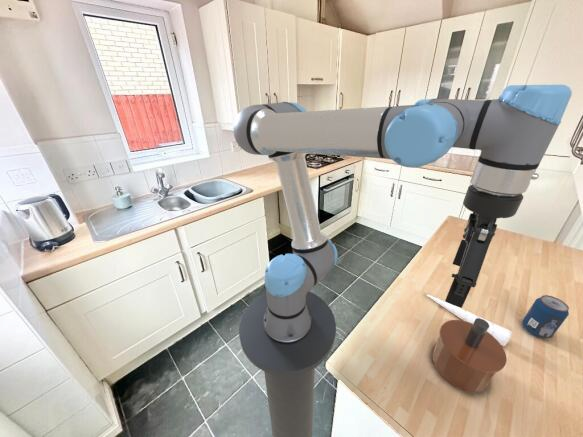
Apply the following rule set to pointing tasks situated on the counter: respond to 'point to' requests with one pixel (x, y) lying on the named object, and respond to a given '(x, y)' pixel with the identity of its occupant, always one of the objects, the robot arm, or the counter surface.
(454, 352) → the crock lid
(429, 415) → the counter surface
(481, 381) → the crock
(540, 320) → the soda can
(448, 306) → the unicorn horn
